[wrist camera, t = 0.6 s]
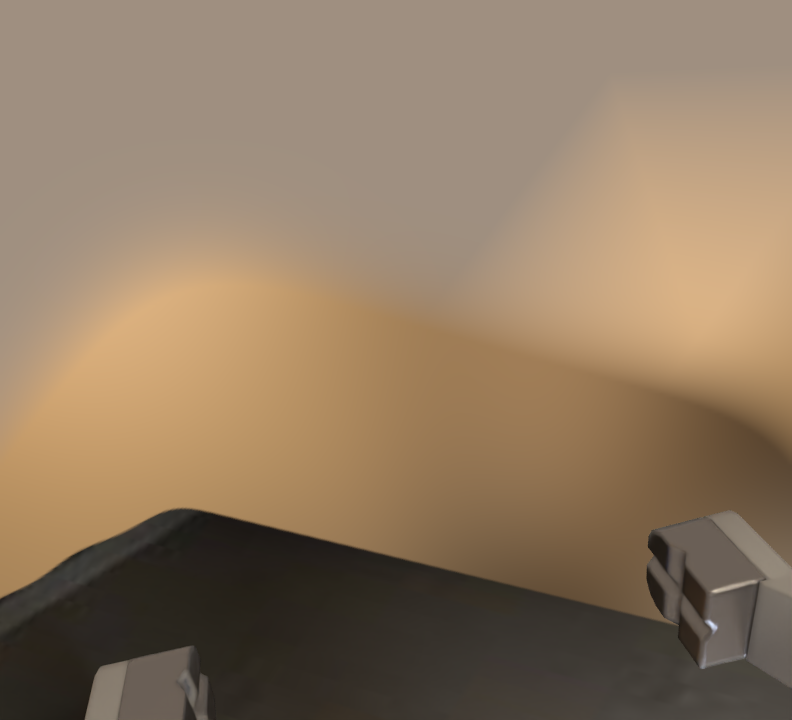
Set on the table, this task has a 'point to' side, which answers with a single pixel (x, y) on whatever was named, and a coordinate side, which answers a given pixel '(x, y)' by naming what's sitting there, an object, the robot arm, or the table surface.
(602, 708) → the table surface
